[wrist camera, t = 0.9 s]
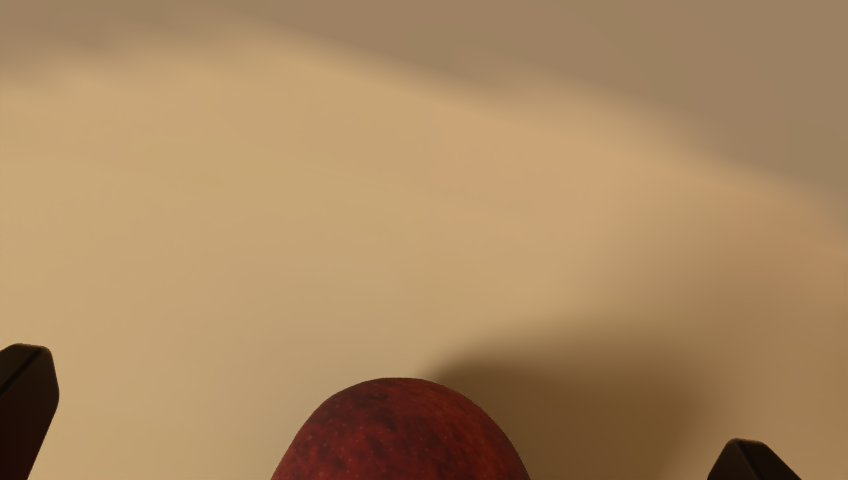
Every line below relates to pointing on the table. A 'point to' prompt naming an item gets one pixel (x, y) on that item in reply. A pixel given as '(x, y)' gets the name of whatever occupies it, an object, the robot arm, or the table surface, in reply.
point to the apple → (400, 437)
